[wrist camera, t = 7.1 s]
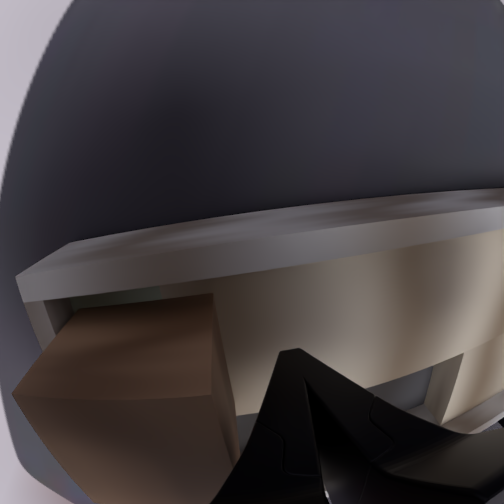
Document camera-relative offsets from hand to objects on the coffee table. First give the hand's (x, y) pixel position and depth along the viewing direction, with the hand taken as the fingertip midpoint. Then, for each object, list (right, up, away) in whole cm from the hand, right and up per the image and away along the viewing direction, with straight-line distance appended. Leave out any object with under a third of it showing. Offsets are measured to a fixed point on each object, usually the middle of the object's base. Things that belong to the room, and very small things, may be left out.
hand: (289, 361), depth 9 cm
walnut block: (-4, 0, +1) cm, 4 cm away
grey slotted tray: (+3, -1, +4) cm, 6 cm away
